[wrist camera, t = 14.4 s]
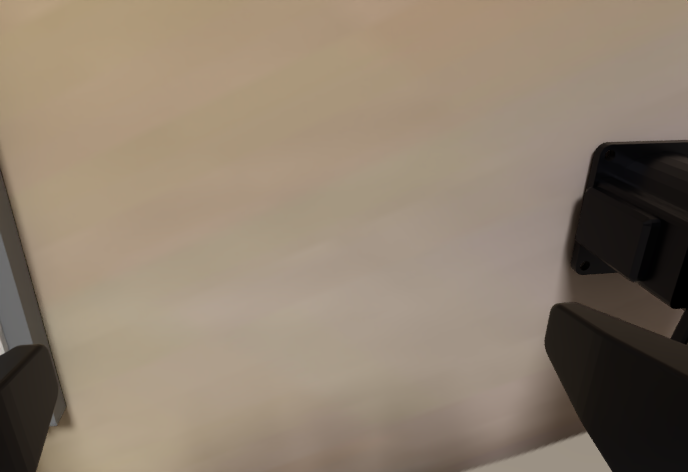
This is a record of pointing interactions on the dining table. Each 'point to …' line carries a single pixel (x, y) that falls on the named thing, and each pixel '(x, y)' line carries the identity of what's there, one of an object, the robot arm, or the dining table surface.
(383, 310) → the dining table surface
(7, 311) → the rail board
